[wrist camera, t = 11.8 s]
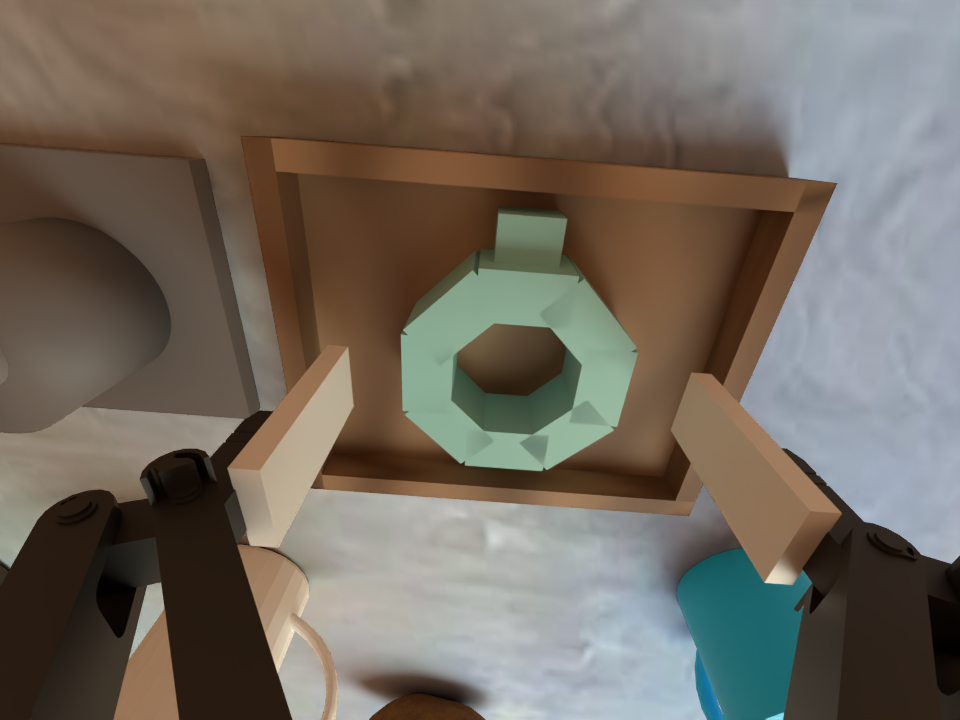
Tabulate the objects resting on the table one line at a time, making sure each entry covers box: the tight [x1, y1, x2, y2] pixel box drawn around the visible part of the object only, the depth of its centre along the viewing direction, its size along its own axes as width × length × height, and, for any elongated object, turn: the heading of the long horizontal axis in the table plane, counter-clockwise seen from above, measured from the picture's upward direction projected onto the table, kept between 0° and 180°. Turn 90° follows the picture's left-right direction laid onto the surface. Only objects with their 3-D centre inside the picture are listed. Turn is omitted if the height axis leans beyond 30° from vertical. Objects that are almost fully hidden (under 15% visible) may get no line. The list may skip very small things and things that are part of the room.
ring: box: [401, 206, 638, 471], centre depth 17 cm, size 9×11×3 cm
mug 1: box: [113, 545, 338, 720], centre depth 24 cm, size 12×8×10 cm, turn 88°
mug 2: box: [677, 548, 812, 720], centre depth 25 cm, size 12×8×8 cm
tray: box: [241, 136, 837, 516], centre depth 18 cm, size 20×16×2 cm
